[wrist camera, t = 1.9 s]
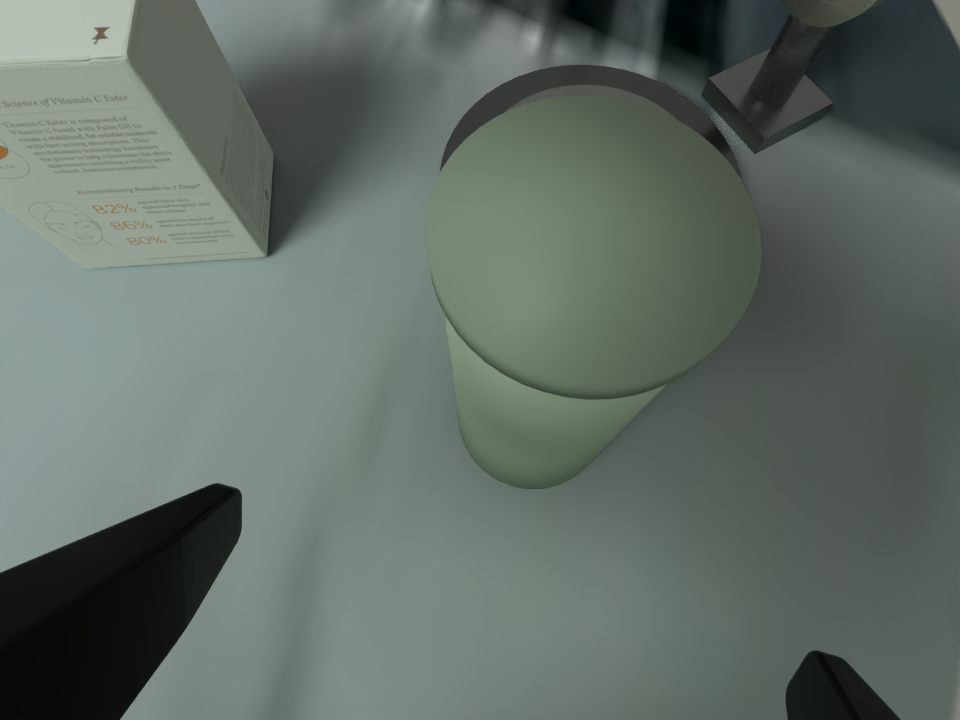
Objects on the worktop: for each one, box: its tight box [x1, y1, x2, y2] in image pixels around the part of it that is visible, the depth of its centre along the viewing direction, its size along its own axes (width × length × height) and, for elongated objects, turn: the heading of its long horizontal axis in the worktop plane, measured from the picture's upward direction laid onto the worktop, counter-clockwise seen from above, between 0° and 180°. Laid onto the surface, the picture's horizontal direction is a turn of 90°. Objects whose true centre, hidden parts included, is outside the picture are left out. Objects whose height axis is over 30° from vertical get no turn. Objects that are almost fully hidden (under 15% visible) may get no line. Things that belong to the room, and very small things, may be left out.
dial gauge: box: [701, 0, 884, 153], centre depth 23 cm, size 4×5×10 cm
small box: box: [0, 0, 274, 269], centre depth 21 cm, size 8×6×10 cm
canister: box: [425, 96, 762, 489], centre depth 16 cm, size 6×6×13 cm
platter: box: [440, 65, 741, 178], centre depth 25 cm, size 13×13×1 cm
